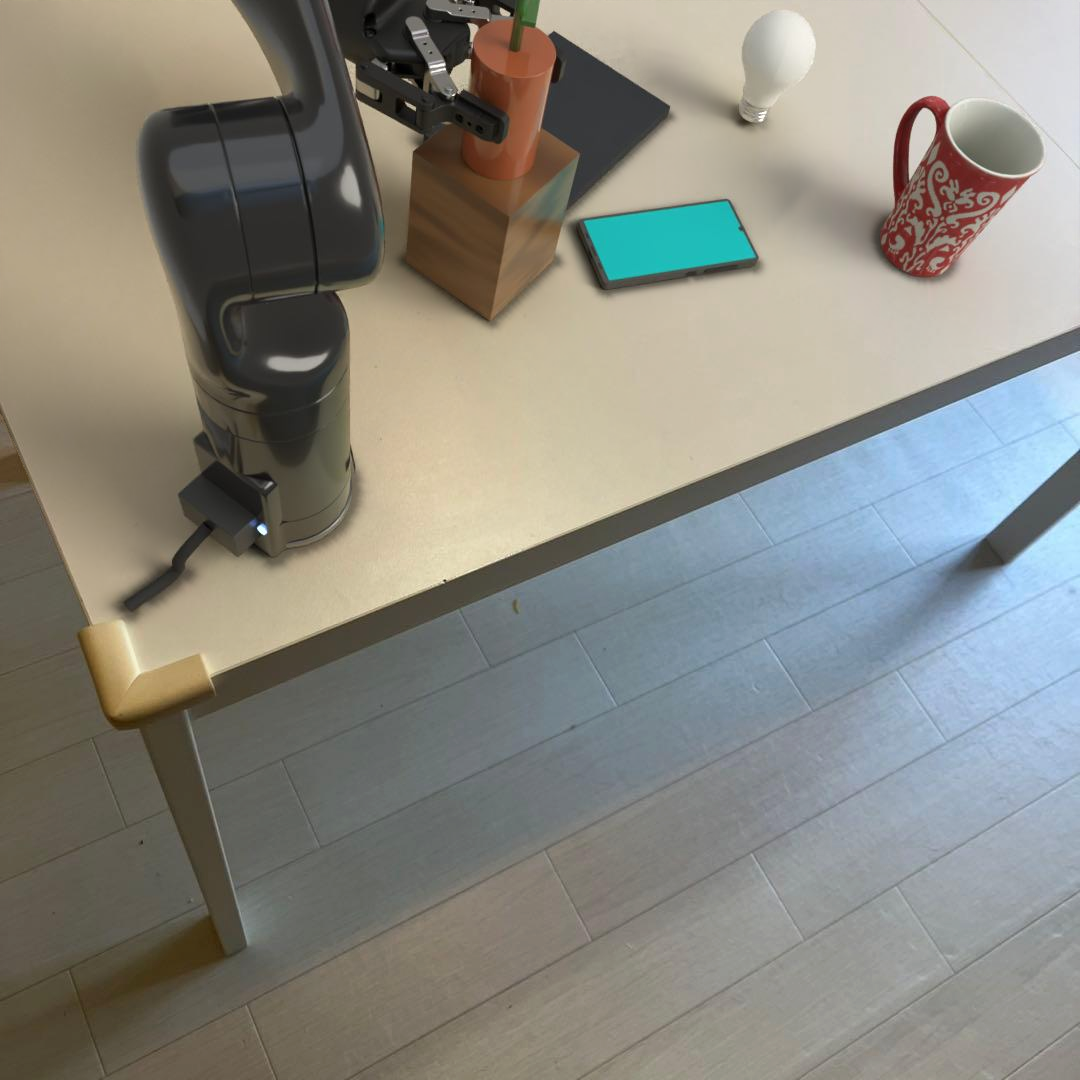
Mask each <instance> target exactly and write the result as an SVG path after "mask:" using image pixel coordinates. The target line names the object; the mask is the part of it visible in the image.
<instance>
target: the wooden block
mask: <svg viewBox="0 0 1080 1080" xmlns="http://www.w3.org/2000/svg"><path fill="white" fill-rule="evenodd" d="M462 131H463V129H462V128H460V127H458V126H456V125H455V124H453V123H452V124H448V125H445V126H444V127H442V128H441V129H440V130H439V131H437V132H436V133H435V134H434V135H432V136H431V137H430V138H429V139H427V140H426V141H425V142H424V143H423V142H422V143H421V144H420V145H418V146H417V147H416V148H415V149H414V150H412V162H411V173H410V186H409V187H410V188H409V189H410V190H409V205H408V219H407V235H406V247H405V248H406V249H405V263H406V264H408V265H409V266H410V267H412V268H414V269H415V270H416V271H417V272H419V273H420V274H422V275H423V276H424V277H426V278H428V279H429V280H431V281H432V282H433V283H435V284H436V285H438V286H439V287H440V288H441V289H443V290H445V291H446V292H447V293H448V294H450V295H452V296H453V297H455V298H456V299H457V300H459V301H460V302H462V303H463V304H464V305H466V306H467V307H468V308H470V309H471V310H473V311H474V312H476V313H477V314H478V315H480V316H481V317H483V318H484V319H486V320H487V321H489V322H491V321H492V320H494V318H495V317H497V316H498V314H499V313H501V312H502V311H503V310H504V309H505V308H506V307H507V306H509V304H510V303H511V302H512V301H513V300H514V299H515V298H516V297H517V296H518V295H519V294H520V293H521V292H522V291H523V290H525V288H526V287H528V286H529V284H530V283H532V282H533V280H535V279H536V278H537V277H538V276H539V275H540V274H541V273H542V272H543V271H544V270H545V269H546V268H547V267H548V266H549V265H551V263H552V262H553V261H554V259H555V254H556V251H557V247H558V242H559V239H560V235H561V230H562V226H563V222H564V219H565V216H566V212H567V211H566V207H567V203H568V199H569V195H570V191H571V187H572V184H573V180H574V176H575V172H576V168H577V164H578V160H579V156H580V153H578V152H577V151H575V150H574V149H572V148H571V147H569V146H568V145H566V144H565V143H563V142H562V141H560V140H559V139H557V138H556V137H554V136H553V135H551V134H550V133H548V132H547V131H545V130H544V129H542V128H541V132H540V137H539V142H538V147H537V152H536V157H535V161H534V164H533V166H532V168H531V169H530V170H529V171H528V172H527V173H526V174H524V175H523V176H521V177H518V178H515V179H510V180H496V179H491V178H488V177H485V176H482V175H480V174H478V173H477V172H475V171H474V170H473V169H471V168H470V167H469V166H468V165H467V163H466V162H465V161H464V159H463V157H462V154H461V139H462ZM565 211H566V212H565Z"/></svg>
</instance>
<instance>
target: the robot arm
mask: <svg viewBox="0 0 1080 1080" xmlns="http://www.w3.org/2000/svg"><path fill="white" fill-rule="evenodd" d="M230 1H231V3H232V5H233V6H234V7H235V9H236V10H237V11H238V13H239V14H240V16H241V17H242V19H243V20H244V22H245V23H246V25H247V26H248V28H249V30H250V32H251V33H252V35H253V37H254V39H255V40H256V42H257V44H258V45H259V48H260V49H261V51H262V54H263V55H264V57H265V59H266V61H267V63H268V66H269V67H270V70H271V72H272V74H273V76H274V79H275V81H276V83H277V86H278V88H279V90H280V93H281V95H277V96H265V97H255V98H246V99H245V98H244V99H236V100H235V99H234V100H224V101H216V102H210V103H208V102H205V103H204V102H203V103H195V104H187V105H177V106H170V107H164V108H160V109H156V110H155V111H152V112H151V113H149V114H148V115H147V116H146V117H145V118H144V120H143V122H142V124H141V126H140V128H139V131H138V135H137V140H136V145H135V146H136V147H135V167H136V175H137V182H138V188H139V194H140V199H141V204H142V208H143V211H144V214H145V218H146V221H147V225H148V228H149V232H150V236H151V238H152V242H153V244H154V247H155V251H156V253H157V256H158V260H159V261H160V262H159V263H160V265H161V268H162V271H163V274H164V276H165V279H166V282H167V285H168V288H169V291H170V294H171V297H172V301H173V304H174V307H175V312H176V317H177V321H178V324H179V329H180V334H181V339H182V345H183V349H184V355H185V359H186V362H187V366H188V370H189V373H190V378H191V382H192V386H193V390H194V395H195V399H196V403H197V408H198V411H199V412H198V413H199V416H200V421H201V425H202V428H203V429H202V430H201V431H199V432H198V433H197V434H196V435H194V437H193V438H192V445H193V448H194V452H195V456H196V460H197V464H198V468H199V471H200V473H199V474H198V475H197V476H196V477H195V478H193V479H192V480H191V481H190V482H189V483H188V484H187V485H186V486H185V487H184V488H182V489H181V490H180V491H179V492H178V493H177V497H178V499H179V503H180V506H181V509H182V512H183V515H184V517H186V518H187V519H188V520H189V521H191V522H192V523H193V524H194V525H196V526H197V528H196V529H195V531H194V532H193V533H191V535H190V536H189V537H188V538H187V539H185V541H184V542H183V543H182V545H181V546H180V547H179V548H178V549H177V551H176V552H175V553H174V555H173V557H172V558H171V566H170V567H169V568H168V569H167V570H166V571H165V572H163V573H162V574H161V575H160V576H158V578H156V579H155V580H153V581H152V582H151V583H149V584H148V585H147V586H144V587H143V588H141V589H140V590H139V591H137V592H135V593H134V594H132V595H131V596H129V597H128V598H127V599H126V600H124V601H123V602H122V603H123V605H124V607H125V608H127V609H128V611H130V612H131V613H133V612H134V611H135V610H137V609H138V608H140V607H141V606H142V605H144V604H146V603H147V602H148V601H150V600H152V599H153V598H154V597H156V596H157V595H159V594H160V593H162V592H163V591H164V590H166V589H167V588H168V587H169V586H171V585H172V584H174V583H175V581H176V580H177V579H178V578H179V577H180V576H181V575H182V574H183V572H184V571H185V569H186V562H187V561H188V559H189V558H190V557H191V556H192V555H193V553H194V552H195V551H196V550H197V549H198V548H199V547H200V545H201V544H202V543H203V542H204V541H205V540H206V539H207V538H208V537H211V538H212V539H214V540H215V541H216V542H218V543H219V544H220V545H221V546H223V547H224V548H225V549H226V550H228V551H229V553H231V554H233V555H234V556H235V557H236V558H239V557H241V556H242V554H244V553H245V552H246V551H247V550H248V549H249V548H250V547H251V546H252V545H253V544H255V545H256V546H257V547H259V549H261V550H262V551H263V552H264V553H266V554H267V555H269V556H270V557H271V558H276V557H278V556H279V555H280V554H282V552H283V551H285V550H286V549H292V548H299V547H300V548H301V547H305V546H307V545H310V544H313V543H315V542H318V541H320V540H321V539H323V538H325V537H327V536H328V535H329V534H331V533H332V532H333V531H334V530H335V529H336V528H337V527H338V526H339V525H340V524H341V523H342V521H343V520H344V518H345V517H346V515H347V513H348V512H349V511H348V510H349V509H350V506H351V503H352V497H353V480H352V474H351V472H352V471H351V469H352V468H351V467H353V471H354V473H356V463H355V457H354V453H353V449H352V443H351V330H350V322H349V317H348V314H347V311H346V308H345V305H344V304H343V302H342V300H341V298H340V296H339V295H338V293H337V292H341V291H347V290H353V289H356V288H360V287H363V286H367V285H369V284H371V283H372V282H373V281H374V280H375V279H377V277H378V276H379V274H380V273H381V270H382V268H383V265H384V261H385V256H386V255H385V254H386V246H387V245H386V223H385V214H384V208H383V200H382V196H381V191H380V190H381V189H380V186H379V179H378V177H377V176H378V175H377V171H376V166H375V163H374V159H373V155H372V151H371V148H370V147H371V146H370V144H369V143H370V142H369V140H368V136H367V131H366V128H365V125H364V121H363V117H362V114H361V110H360V107H359V104H358V101H359V102H360V103H363V104H364V105H366V106H368V107H370V108H372V109H373V110H375V111H377V112H379V113H381V114H383V115H384V116H387V117H388V118H390V119H391V120H394V121H396V122H398V123H399V124H401V125H403V126H405V127H407V128H409V129H410V130H412V131H414V132H416V133H418V134H419V135H423V136H424V135H426V134H429V133H431V132H432V128H433V126H435V125H437V124H439V123H442V124H446V125H448V124H452V123H453V124H455V125H456V126H458V127H460V128H462V129H464V130H465V131H467V132H469V133H471V134H473V135H474V136H476V137H478V138H480V139H481V140H484V141H488V142H491V141H492V142H494V143H495V144H501V143H502V142H503V140H504V139H505V138H506V137H507V134H508V128H509V122H510V119H509V116H508V115H507V114H506V113H505V112H504V111H502V110H500V109H498V108H497V107H495V106H493V105H491V104H489V103H488V102H486V101H484V100H482V99H480V98H479V97H477V96H475V95H473V94H471V93H470V92H468V91H467V89H464V88H463V89H462V90H461V91H460V92H459V89H458V87H457V85H456V84H455V82H454V80H453V78H452V77H451V76H450V75H451V74H452V72H453V70H454V68H456V67H457V66H460V65H461V64H463V63H464V62H465V61H466V60H471V55H472V47H473V40H472V41H471V36H472V35H471V33H472V31H471V28H470V25H469V24H472V25H475V26H477V30H476V32H477V31H478V30H479V29H480V28H481V27H482V26H484V25H485V24H487V23H490V22H493V21H497V20H513V18H514V11H515V5H516V0H230ZM501 9H502V10H504V11H506V12H507V13H509V16H508V15H502V13H501ZM554 47H555V50H556V59H555V64H554V69H553V74H552V79H551V83H557V82H558V81H559V80H560V79H561V78H562V77H563V74H564V69H565V65H566V60H567V59H566V55H565V54H564V53H563V51H562V50H561V49H560V48H559V47H557V46H555V45H554ZM346 60H347V61H349V62H350V63H352V64H354V65H355V69H354V70H355V73H354V74H355V81H354V82H355V87H354V85H353V82H352V78H351V75H350V72H349V67H348V65H347V61H346ZM354 88H355V89H354ZM458 92H459V93H458ZM406 103H407V104H409V105H411V106H413V107H415V109H413V108H411V107H409V106H408V105H407V104H406ZM351 462H352V465H351Z"/></svg>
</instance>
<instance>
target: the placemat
mask: <svg viewBox="0 0 1080 1080" xmlns="http://www.w3.org/2000/svg"><path fill="white" fill-rule="evenodd" d="M547 36H548V37H549V38H550V39H551V41H552V42H553V44H554V45H555V46H557V47H559V48H560V49H561V50H562V51H563V53H564V54H565V55H566V59H567V60H566V65H565V69H564V74H563V77H562V78H561V79H560V80H559V81H558V82H557V83H551V84H550V88H549V93H548V98H547V103H546V108H545V113H544V118H543V123H542V127H541V128H542V129H544V130H545V131H547V132H548V133H550V134H551V135H553V136H554V137H556V138H557V139H559V140H560V141H562V142H563V143H565V144H566V145H568V146H569V147H571V148H572V149H574V150H575V151H577V152H578V153H580V156H579V160H578V164H577V168H576V172H575V176H574V180H573V184H572V187H571V191H570V195H569V199H568V203H567V207H566V211H565V213H566V212H567V211H568V210H569V209H570V208H572V206H573V205H574V204H575V203H577V202H578V200H580V199H581V198H582V197H583V195H586V193H587V192H589V190H590V189H591V188H592V187H594V186H595V185H596V184H597V183H599V181H600V180H601V179H602V178H603V177H604V176H606V174H607V173H608V172H610V170H612V169H613V168H614V167H615V166H616V165H617V164H618V163H619V162H621V160H622V159H624V158H625V156H627V155H628V154H629V153H630V152H631V151H632V150H633V149H634V148H635V147H636V146H637V145H638V144H640V143H641V142H642V140H643V139H645V137H647V136H648V135H649V134H650V133H651V132H652V131H653V130H654V129H655V128H657V126H658V125H660V123H662V122H663V121H664V120H665V119H666V118H667V117H668V115H669V113H670V110H671V105H670V104H668V103H667V102H665V101H663V100H662V99H660V98H659V97H657V96H655V95H654V94H652V93H651V92H650V91H648V90H647V89H645V88H643V87H641V86H640V85H639V84H637V83H636V82H634V81H632V80H631V79H629V78H628V77H626V76H625V75H623V74H621V73H620V72H619V71H617V70H615V68H613V67H611V66H610V65H608V64H606V63H605V62H603V61H602V60H600V59H598V58H597V57H595V56H594V55H592V54H591V53H589V52H587V51H586V50H584V49H583V48H581V47H580V46H578V45H576V44H575V43H573V42H572V41H571V40H569V39H567V38H566V37H564V36H563V35H561V34H560V33H559V32H557V31H555V30H553V31H552V32H551V33H549V34H547ZM445 125H446V124H442V123H439V124H437V125H435V126H433V128H432V132H431V133H429V134H426V135H423V137H422V138H423V140H422V143H424V142H425V141H426V140H427V139H429V138H430V137H431V136H432V135H434V134H435V133H436V132H437V131H439V130H440V129H441V128H442V127H444V126H445Z"/></svg>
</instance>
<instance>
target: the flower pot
mask: <svg viewBox="0 0 1080 1080" xmlns="http://www.w3.org/2000/svg"><path fill="white" fill-rule="evenodd" d="M540 3H541V0H516V5H515V11H514V18H513V20H497V21H493V22H490V23H487V24H485V25H484V26H482V27H481V28H480V29H479V30H478V29H477V30H478V31H477V30H476V33H474V36H473V40H472V41H473V47H472V55H471V59H470V65H469V72H468V73H469V74H468V81H467V89H466V91H468V92H470V93H471V94H473V95H475V96H477V97H479V98H480V99H482V100H484V101H486V102H488V103H489V104H491V105H493V106H495V107H497V108H498V109H500V110H502V111H504V112H505V113H506V114H507V115H508V116H509V119H510V122H509V128H508V134H507V137H506V138H505V139H504V140H503V142H502V143H501V144H495V143H494V142H492V141H491V142H488V141H484V140H481V139H480V138H478V137H476V136H474V135H473V134H471V133H469V132H467V131H465V130H464V129H463V131H462V139H461V154H462V157H463V159H464V161H465V162H466V163H467V165H468V166H469V167H470V168H471V169H473V170H474V171H475V172H477V173H478V174H480V175H482V176H485V177H488V178H491V179H496V180H510V179H515V178H518V177H521V176H523V175H524V174H526V173H527V172H528V171H529V170H530V169H531V168H532V166H533V164H534V161H535V157H536V152H537V147H538V142H539V137H540V132H541V127H542V123H543V118H544V113H545V108H546V103H547V98H548V93H549V88H550V84H551V79H552V74H553V69H554V64H555V59H556V50H555V47H554V44H553V42H552V41H551V39H550V38H549V37H548V34H546V32H544V31H543V30H542V29H540V28H539V27H536V26H537V20H538V16H539V8H540Z"/></svg>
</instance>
